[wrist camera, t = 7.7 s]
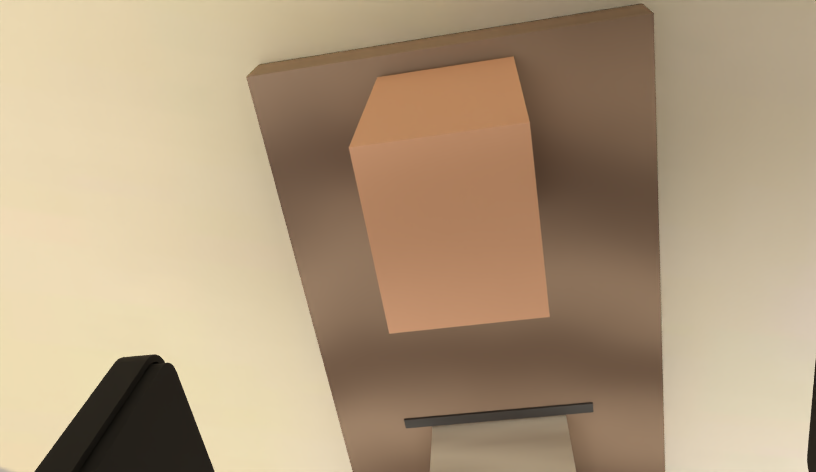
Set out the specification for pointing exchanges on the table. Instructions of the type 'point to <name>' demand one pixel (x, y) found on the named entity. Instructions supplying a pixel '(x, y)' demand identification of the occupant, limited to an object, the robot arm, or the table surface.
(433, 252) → the stub
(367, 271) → the ticket board
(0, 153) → the table surface
